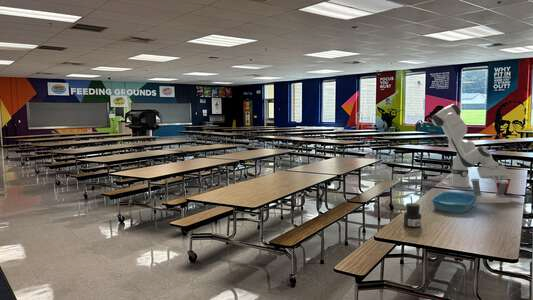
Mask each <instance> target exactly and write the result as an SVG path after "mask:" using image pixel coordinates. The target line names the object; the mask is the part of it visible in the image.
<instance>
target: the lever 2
mask: <svg viewBox="0 0 533 300" xmlns="http://www.w3.org/2000/svg"><path fill="white" fill-rule="evenodd" d="M508 182H509V181H507V180H500V185H499V188H498V191H497V190H496V193H495V194H496V195H497V196H505V193H504V192H505V189H506V186H507V184H508ZM509 183H510V182H509Z"/></svg>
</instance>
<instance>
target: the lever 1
mask: <svg viewBox="0 0 533 300" xmlns="http://www.w3.org/2000/svg"><path fill="white" fill-rule="evenodd" d="M470 182H471V183H472V189H473V190H472V191H473V194H474V195H475V196H481V194H482V193H481V186H480V178H471V179H470Z"/></svg>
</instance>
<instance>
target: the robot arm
mask: <svg viewBox="0 0 533 300" xmlns="http://www.w3.org/2000/svg"><path fill="white" fill-rule="evenodd" d="M460 115H461V109H460V107H459V105H458V104H456V103H452V104H449V105H448V106H446V107H443V108H441V109H440V110H439V111H438V112H436V113H435V114H433V115H431V118H430V119H431V123H432V124H433V125H434V126H435V127H441V128H442V130H443V133H444V135H445V136H446V138H447V139H448V144H447V145H448V149H450V151H453V152H456V155H455V157H453V159H452V168H451V170H450V171H451V172H450V173H449V174H448V175H447V176H446V177H445V181H442V184H443V185H446V186H447V187H451V188H469V187H470V186H471V184H470V176H469V168H472V167H474V166H475V165H476V164H478V163H479V162H480V164H481V166H478V167H476V170H477V172H478V176H479V179H482V180H484V179H491V180H492V181H493V182H494V183H495V184H496V183H500V178H507V177H510V173H509V171H508V168H507V167H505V165H504V163H501V162H497V161H495V160H494V158H493V156H492V154H491V152H490V151H489V149H488V148H487V147H486V146H477V147H476V145H475V143H474V142H473V141H472V140H469V139H464V137H465V136H466V135H467V132H468V126H467V124H466V123H465V121H464V120H463V119H462V118H461V117H460ZM495 178H496V179H498V180H496V179H495Z"/></svg>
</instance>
